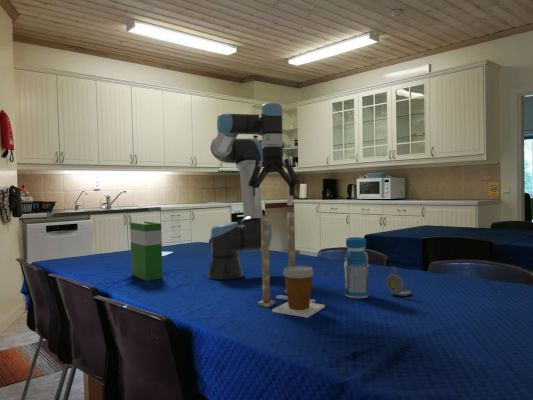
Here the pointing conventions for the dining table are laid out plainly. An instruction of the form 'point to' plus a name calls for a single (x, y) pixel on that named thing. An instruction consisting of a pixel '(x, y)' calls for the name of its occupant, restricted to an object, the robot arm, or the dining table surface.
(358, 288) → the beverage bottle
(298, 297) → the disposable coffee cup
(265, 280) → the gate posts
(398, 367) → the dining table surface
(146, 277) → the hardback book
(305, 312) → the tile
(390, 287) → the pocket watch
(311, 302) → the guide strip
